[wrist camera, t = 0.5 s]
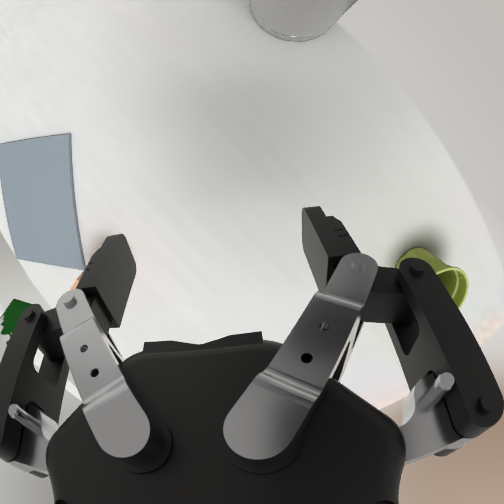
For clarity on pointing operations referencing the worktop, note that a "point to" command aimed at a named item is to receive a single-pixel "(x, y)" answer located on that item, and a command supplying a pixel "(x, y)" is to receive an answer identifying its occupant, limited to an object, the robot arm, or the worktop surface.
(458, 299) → the plant pot
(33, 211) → the mat
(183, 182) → the worktop surface
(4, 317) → the milk carton
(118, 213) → the worktop surface
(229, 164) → the worktop surface
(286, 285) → the worktop surface
